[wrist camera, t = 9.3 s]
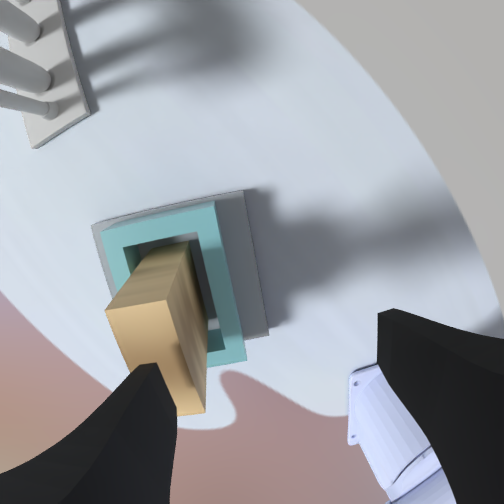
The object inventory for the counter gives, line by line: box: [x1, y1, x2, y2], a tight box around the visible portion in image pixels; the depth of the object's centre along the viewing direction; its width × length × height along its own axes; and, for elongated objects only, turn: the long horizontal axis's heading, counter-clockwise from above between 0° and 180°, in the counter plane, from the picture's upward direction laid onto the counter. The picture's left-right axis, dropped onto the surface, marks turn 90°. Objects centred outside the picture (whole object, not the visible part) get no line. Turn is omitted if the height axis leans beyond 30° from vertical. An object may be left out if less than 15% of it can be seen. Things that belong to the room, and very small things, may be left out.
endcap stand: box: [91, 190, 269, 368], centre depth 17 cm, size 9×9×3 cm
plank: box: [105, 241, 209, 416], centre depth 14 cm, size 5×2×8 cm, turn 10°
